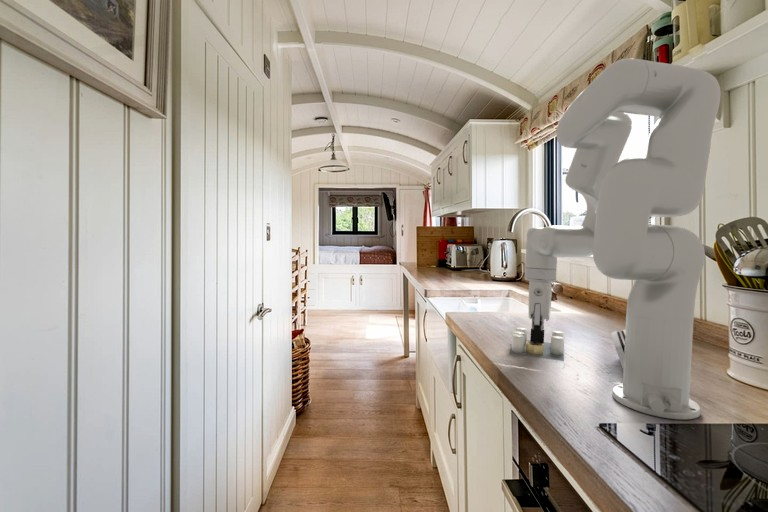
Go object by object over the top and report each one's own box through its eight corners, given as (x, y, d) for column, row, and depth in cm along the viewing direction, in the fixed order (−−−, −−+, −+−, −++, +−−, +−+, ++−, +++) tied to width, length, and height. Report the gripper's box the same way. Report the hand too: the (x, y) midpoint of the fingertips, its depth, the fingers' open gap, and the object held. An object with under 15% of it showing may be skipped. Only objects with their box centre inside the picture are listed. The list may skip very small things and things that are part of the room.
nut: (542, 356, 92) (542, 346, 92) (525, 353, 93) (525, 343, 93) (543, 351, 96) (543, 342, 96) (526, 349, 98) (527, 339, 97)
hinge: (656, 385, 75) (638, 336, 77) (629, 388, 78) (612, 341, 79) (646, 363, 90) (631, 322, 91) (623, 366, 92) (609, 326, 93)
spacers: (563, 359, 90) (564, 343, 89) (510, 351, 95) (510, 336, 95) (563, 346, 101) (564, 331, 101) (516, 340, 107) (516, 326, 106)
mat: (563, 362, 89) (563, 360, 89) (509, 354, 94) (509, 352, 94) (563, 346, 103) (563, 344, 103) (516, 340, 108) (516, 338, 108)
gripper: (555, 278, 89) (551, 354, 90) (556, 273, 102) (553, 340, 103) (521, 276, 92) (518, 349, 93) (527, 272, 105) (524, 336, 106)
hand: (536, 344), depth 98 cm, fingers closed
